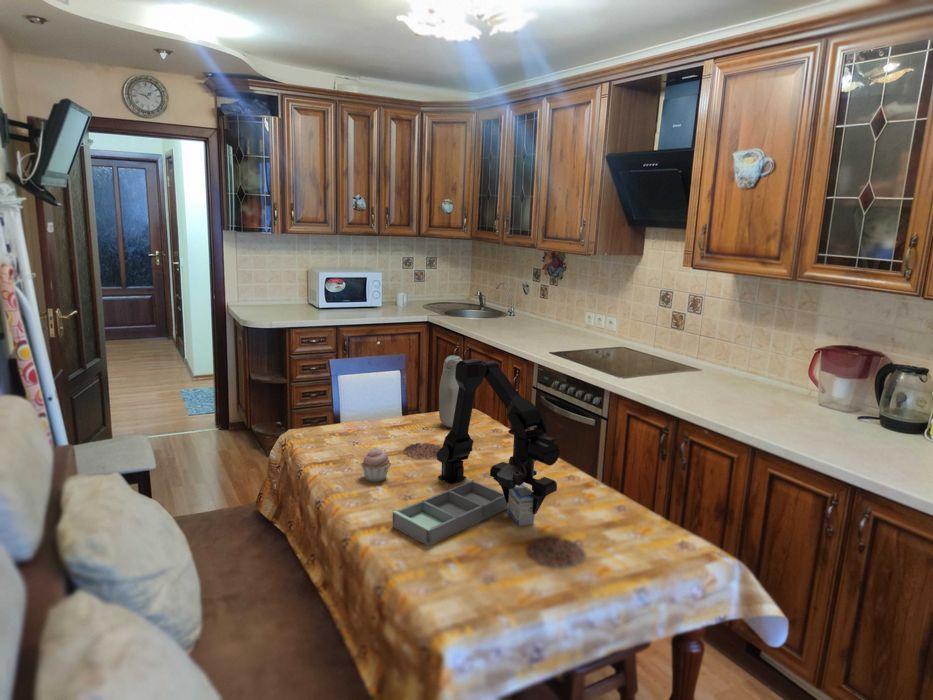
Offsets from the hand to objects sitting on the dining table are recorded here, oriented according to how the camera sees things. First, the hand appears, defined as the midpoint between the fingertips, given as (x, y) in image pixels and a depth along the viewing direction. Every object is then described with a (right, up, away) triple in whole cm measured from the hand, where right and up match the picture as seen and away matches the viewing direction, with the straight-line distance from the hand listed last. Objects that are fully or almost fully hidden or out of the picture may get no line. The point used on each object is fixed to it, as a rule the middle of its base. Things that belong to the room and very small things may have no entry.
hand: (521, 508), depth 169 cm
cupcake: (-43, +3, +24) cm, 49 cm away
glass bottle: (-20, +13, +74) cm, 77 cm away
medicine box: (0, -3, +1) cm, 3 cm away
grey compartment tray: (-19, -2, 0) cm, 19 cm away
